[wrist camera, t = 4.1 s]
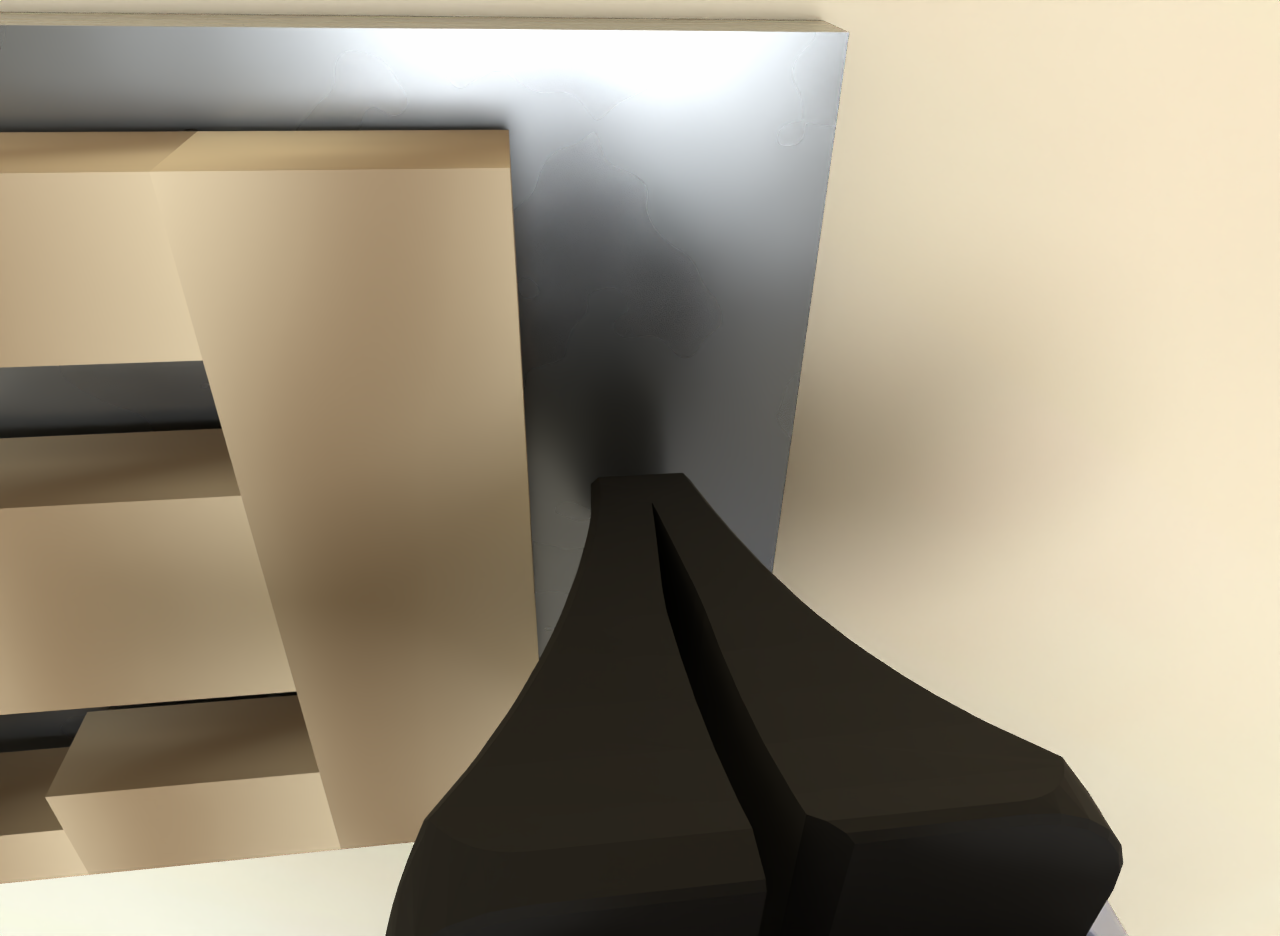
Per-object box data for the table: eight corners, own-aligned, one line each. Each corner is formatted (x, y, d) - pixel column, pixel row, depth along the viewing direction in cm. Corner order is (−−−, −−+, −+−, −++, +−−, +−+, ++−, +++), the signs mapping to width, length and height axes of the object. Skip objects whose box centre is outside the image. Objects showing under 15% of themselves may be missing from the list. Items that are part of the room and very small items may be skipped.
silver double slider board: (823, 19, 11) (968, 86, 8) (735, 713, 18) (789, 908, 15) (-1136, 0, 9) (-2223, 85, 5) (-343, 807, 16) (-576, 1065, 12)
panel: (508, 129, 10) (509, 167, 9) (544, 751, 16) (547, 828, 15) (-723, 136, 9) (-943, 183, 7) (-172, 815, 15) (-239, 907, 13)
